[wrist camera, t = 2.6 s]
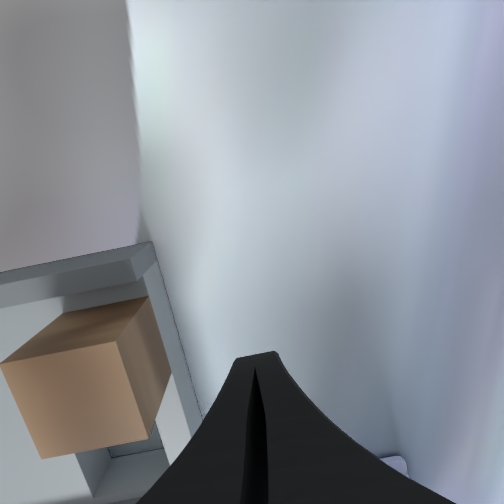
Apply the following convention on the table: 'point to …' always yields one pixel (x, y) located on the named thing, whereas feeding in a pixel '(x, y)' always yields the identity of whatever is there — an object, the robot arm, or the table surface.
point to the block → (91, 378)
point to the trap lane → (37, 318)
